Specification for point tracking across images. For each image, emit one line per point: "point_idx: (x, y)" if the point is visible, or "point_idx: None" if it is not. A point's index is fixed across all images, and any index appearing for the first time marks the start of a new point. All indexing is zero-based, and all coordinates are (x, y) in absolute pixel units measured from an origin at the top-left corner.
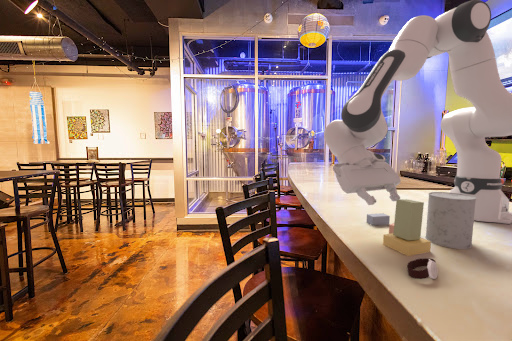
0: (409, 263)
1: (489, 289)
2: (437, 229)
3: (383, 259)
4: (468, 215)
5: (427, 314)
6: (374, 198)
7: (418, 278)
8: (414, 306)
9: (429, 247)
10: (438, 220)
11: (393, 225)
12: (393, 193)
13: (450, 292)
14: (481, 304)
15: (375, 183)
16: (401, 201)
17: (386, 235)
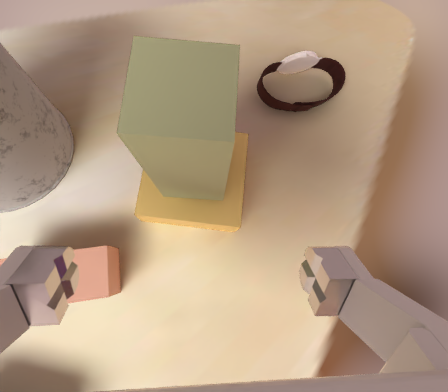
0: (313, 102)
1: (236, 14)
2: (45, 130)
3: (318, 166)
4: None
5: (393, 38)
6: (324, 259)
7: (332, 77)
8: (396, 53)
9: None
10: (22, 107)
11: (105, 277)
12: (45, 283)
13: (309, 41)
14: (298, 10)
15: (273, 389)
16: (234, 112)
17: (239, 216)
